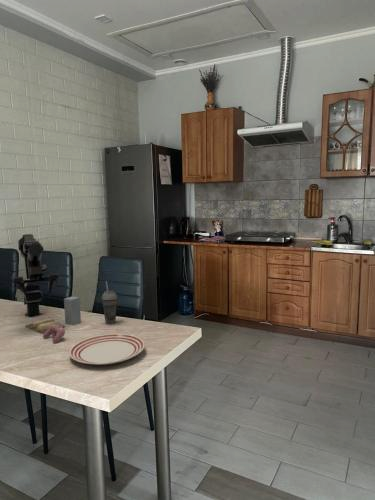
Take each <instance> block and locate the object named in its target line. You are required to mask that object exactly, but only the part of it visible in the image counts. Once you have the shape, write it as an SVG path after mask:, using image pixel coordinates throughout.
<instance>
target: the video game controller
mask: <svg viewBox="0 0 375 500" xmlns="http://www.w3.org/2000/svg"><path fill="white" fill-rule="evenodd" d="M65 334H66V330H65V328H63V327H62V326H60V325H52V326H50V327H49V329H48V330H47V331H46V332H45V333H43V334H42V338H43V339H47V338H49V337H51V338H52V339H53V340H52V343H53V344H57V343H59V342H60V341H61V340H62V338H64V336H65Z"/></svg>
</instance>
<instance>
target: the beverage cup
mask: <svg viewBox="0 0 375 500" xmlns="http://www.w3.org/2000/svg"><path fill="white" fill-rule="evenodd" d="M105 285H106V291H104V293H102V295H101V303H102V306H103V307H102V308H103V314H104V321H105V325H115V324H116V317H117V303H118V296H117V294H116V292H115V291H114V290H110V289H109V287H108V281H107V280H106V281H105Z"/></svg>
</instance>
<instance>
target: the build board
mask: <svg viewBox="0 0 375 500" xmlns="http://www.w3.org/2000/svg"><path fill="white" fill-rule="evenodd" d="M52 325H60V326H62V327H63V329H65V325H64V324H60V323H59V321H58V320H55V319H52V318H50V317H48V318H44V319H41V320H37V321H34V322H33V321H32V323H29V324H26V325H25V328H27V329H30V330H32V331H35V332H37V333H39V334H42V335H44V333H45V332H46V331H47V330H48V329H49V327H50V326H52Z"/></svg>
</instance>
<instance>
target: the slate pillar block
mask: <svg viewBox="0 0 375 500" xmlns="http://www.w3.org/2000/svg"><path fill="white" fill-rule="evenodd" d="M80 299H81V298H80V296H79V297H78V296H74V295H73V296H69V297H66V298H63V305H64V308H63V309H64V321H65V322H64V323H65V325H69V326H75V325H77V324H80V323H82V321H81V320H82V319H81V317H82V316H81V315H82V314H81V300H80Z"/></svg>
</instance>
